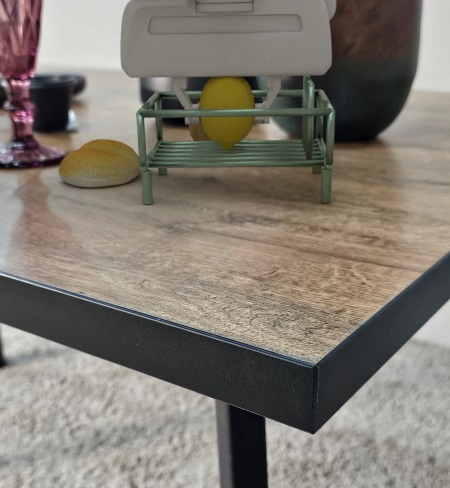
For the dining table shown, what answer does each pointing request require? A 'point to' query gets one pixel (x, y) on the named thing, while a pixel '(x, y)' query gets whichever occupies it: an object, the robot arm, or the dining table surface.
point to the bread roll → (100, 164)
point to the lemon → (227, 97)
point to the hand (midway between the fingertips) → (227, 123)
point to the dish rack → (243, 151)
